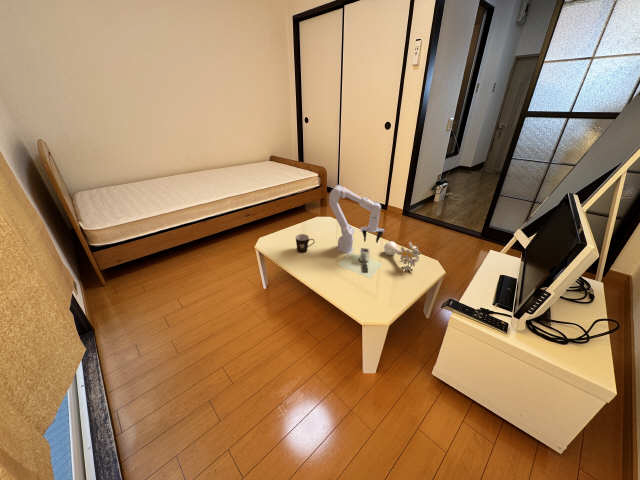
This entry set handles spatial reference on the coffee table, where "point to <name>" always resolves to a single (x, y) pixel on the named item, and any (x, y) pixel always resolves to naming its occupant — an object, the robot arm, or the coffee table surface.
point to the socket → (364, 254)
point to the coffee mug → (302, 243)
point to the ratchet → (364, 265)
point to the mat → (359, 265)
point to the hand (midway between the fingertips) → (370, 241)
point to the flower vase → (403, 253)
